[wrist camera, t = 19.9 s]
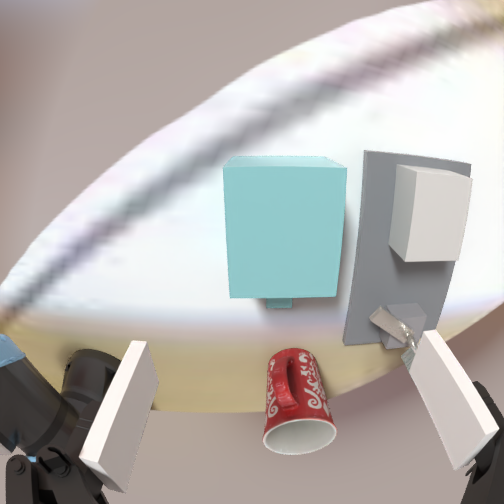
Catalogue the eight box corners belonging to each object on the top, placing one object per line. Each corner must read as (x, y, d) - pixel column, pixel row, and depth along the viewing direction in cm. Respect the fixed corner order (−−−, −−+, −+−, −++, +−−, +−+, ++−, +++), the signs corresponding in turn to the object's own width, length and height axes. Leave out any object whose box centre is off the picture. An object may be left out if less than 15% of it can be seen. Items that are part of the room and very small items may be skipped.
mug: (326, 376, 45) (341, 446, 32) (271, 389, 46) (273, 460, 33) (311, 316, 40) (327, 392, 27) (246, 333, 41) (241, 410, 29)
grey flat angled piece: (417, 350, 36) (444, 399, 27) (369, 317, 34) (395, 373, 25) (427, 340, 36) (456, 388, 27) (380, 305, 33) (410, 360, 24)
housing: (342, 339, 41) (352, 369, 36) (363, 150, 31) (384, 156, 25) (430, 331, 41) (446, 356, 35) (466, 162, 31) (495, 171, 25)
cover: (238, 294, 39) (232, 339, 30) (232, 156, 32) (223, 167, 24) (316, 293, 38) (330, 337, 30) (324, 156, 32) (346, 168, 23)
